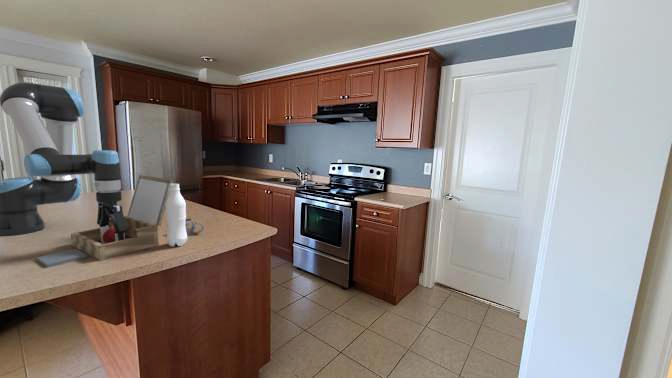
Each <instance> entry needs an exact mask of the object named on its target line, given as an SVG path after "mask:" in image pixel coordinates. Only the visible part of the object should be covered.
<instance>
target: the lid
mask: <svg viewBox="0 0 672 378" xmlns="http://www.w3.org/2000/svg"><path fill="white" fill-rule="evenodd" d="M170 184H174V180H172V179H166V178H162V177H161V178H159V177H154V176H148V175H142V174H139V175H138V178H137V181H136V185H135V189H134V192H133V196H132V199H131V202H130V207H129V210H128V213H127V216H128V217H131V218H134V219H137V220H141V221H144V222H147V223H150V224H153V225H157V226H158V227H162V224H163V221H164V217H165V214H166V206H165V203H166V201H167V199H168V197H169V195H170V191H171V190H170V188H171V186H170Z"/></svg>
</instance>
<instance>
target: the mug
mask: <svg viewBox="0 0 672 378" xmlns="http://www.w3.org/2000/svg"><path fill="white" fill-rule="evenodd" d="M197 224H200V226H201V228H200V230H195V229H197ZM185 227H186V233H187V236H190V235H195V234H196V235H197V234H200V233H201V232H203V231H204V229H205V225H204V224H203V223H202V222H201V221H195V222H194V220H193V219H192V218H186V221H185Z"/></svg>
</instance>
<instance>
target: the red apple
mask: <svg viewBox="0 0 672 378" xmlns="http://www.w3.org/2000/svg"><path fill="white" fill-rule="evenodd" d="M114 232H115V228H114V226H111V227H110V228H109V229H108V230H107V231H106V232H105V233H104V234H103V241H104V242H105V243H104V244H107V243H111V242H115V234H114Z"/></svg>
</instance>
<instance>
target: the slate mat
mask: <svg viewBox="0 0 672 378" xmlns="http://www.w3.org/2000/svg"><path fill="white" fill-rule="evenodd" d="M86 258H88V254H87V253H85V252H84V251H82V250H80V249H78V248H73V249H68V250H64V251H58V252H55V253H50V254H46V255H42V256H37V257H36V261H37V262H39V263H40V264H41V265H43V266H45V267H46V268H51V267H54V266H55V267H56V266H59V265H63V264H66V263H71V262H74V261H78V260H83V259H86Z"/></svg>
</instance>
